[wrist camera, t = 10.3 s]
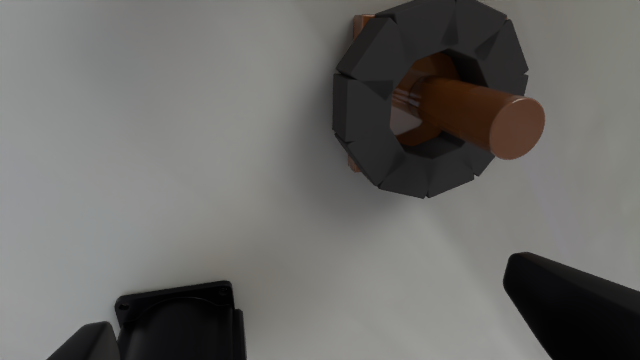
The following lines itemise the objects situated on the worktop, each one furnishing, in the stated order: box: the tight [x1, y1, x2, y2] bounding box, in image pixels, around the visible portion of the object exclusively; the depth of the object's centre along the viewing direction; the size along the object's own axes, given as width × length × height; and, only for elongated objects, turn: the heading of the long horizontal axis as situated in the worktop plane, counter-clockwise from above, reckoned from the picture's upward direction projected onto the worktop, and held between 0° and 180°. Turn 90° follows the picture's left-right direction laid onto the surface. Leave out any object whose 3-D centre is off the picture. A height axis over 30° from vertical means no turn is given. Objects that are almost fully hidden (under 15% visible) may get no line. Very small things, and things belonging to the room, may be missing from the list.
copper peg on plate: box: [348, 14, 545, 172], centre depth 17 cm, size 8×8×8 cm
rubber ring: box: [332, 0, 528, 199], centre depth 18 cm, size 9×10×2 cm
